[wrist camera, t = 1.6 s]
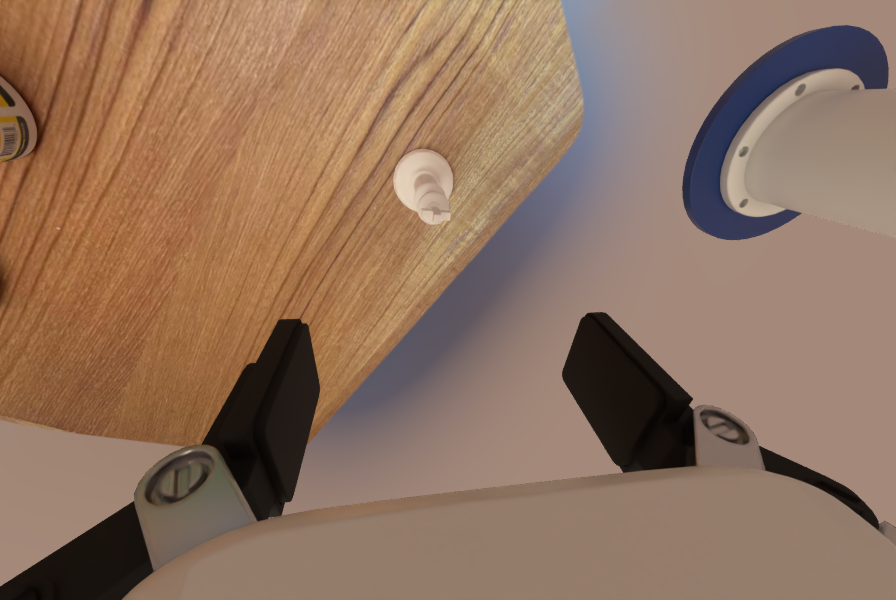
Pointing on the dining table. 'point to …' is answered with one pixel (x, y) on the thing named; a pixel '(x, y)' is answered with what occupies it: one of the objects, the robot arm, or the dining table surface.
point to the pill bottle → (15, 125)
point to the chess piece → (424, 184)
